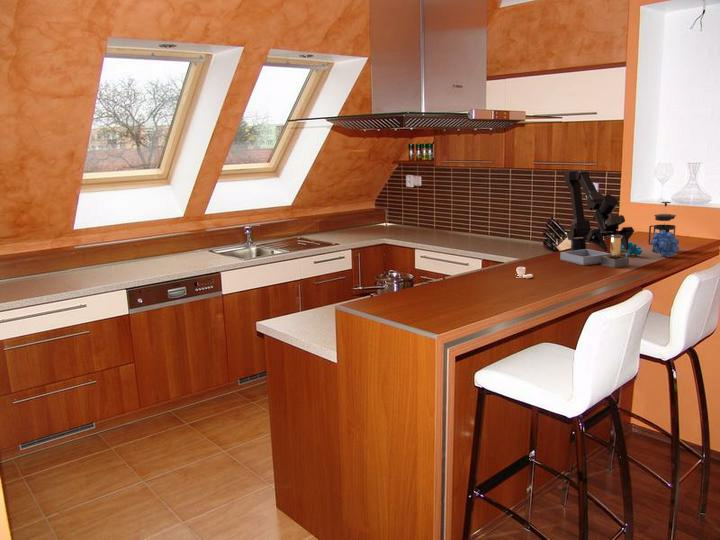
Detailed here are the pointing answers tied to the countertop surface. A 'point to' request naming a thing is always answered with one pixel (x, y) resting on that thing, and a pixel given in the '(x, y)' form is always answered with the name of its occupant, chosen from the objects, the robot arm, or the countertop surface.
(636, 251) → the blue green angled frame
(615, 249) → the capped labeled canister
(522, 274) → the teacup and saucer
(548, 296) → the countertop surface
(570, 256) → the tray
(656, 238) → the grapes
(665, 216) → the french press
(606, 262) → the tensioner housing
